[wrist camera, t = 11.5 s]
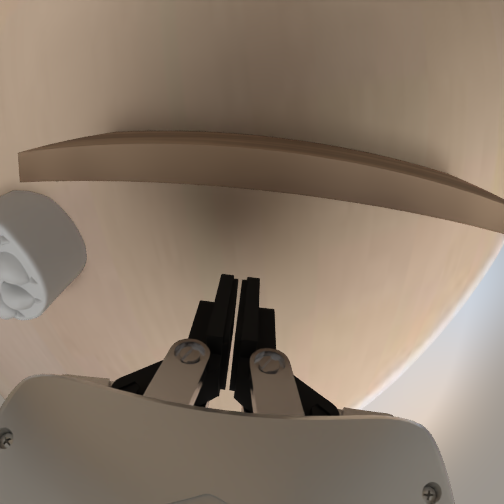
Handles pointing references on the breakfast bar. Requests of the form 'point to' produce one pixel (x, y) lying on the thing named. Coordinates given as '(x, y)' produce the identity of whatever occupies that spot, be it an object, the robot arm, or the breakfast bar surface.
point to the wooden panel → (264, 171)
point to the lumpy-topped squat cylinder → (35, 253)
